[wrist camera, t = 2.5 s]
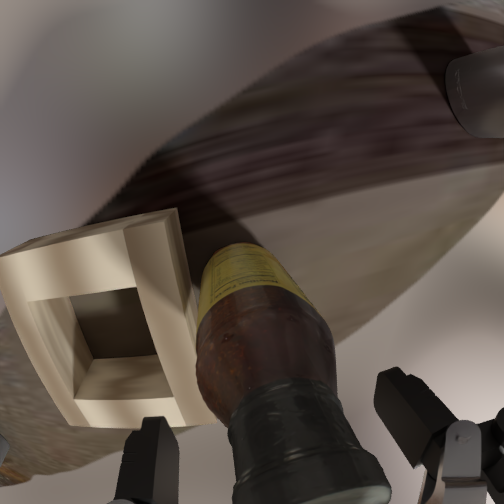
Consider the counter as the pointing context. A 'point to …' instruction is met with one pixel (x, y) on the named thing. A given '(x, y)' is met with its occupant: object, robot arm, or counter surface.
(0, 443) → the bottle
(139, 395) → the dock block
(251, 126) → the counter surface
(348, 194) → the counter surface
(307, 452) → the sauce bottle
